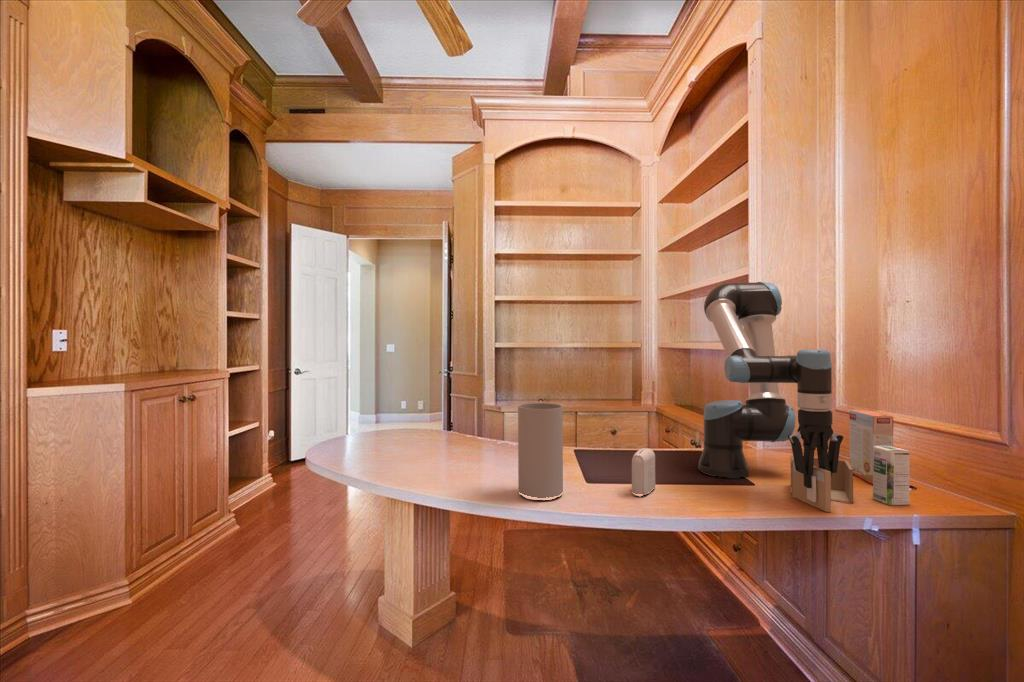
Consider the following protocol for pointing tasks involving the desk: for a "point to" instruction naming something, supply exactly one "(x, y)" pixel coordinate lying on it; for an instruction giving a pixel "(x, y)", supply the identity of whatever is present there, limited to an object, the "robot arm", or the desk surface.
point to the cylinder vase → (540, 449)
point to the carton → (838, 481)
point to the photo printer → (643, 471)
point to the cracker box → (868, 440)
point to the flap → (821, 487)
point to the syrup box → (891, 475)
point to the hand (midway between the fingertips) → (816, 500)
